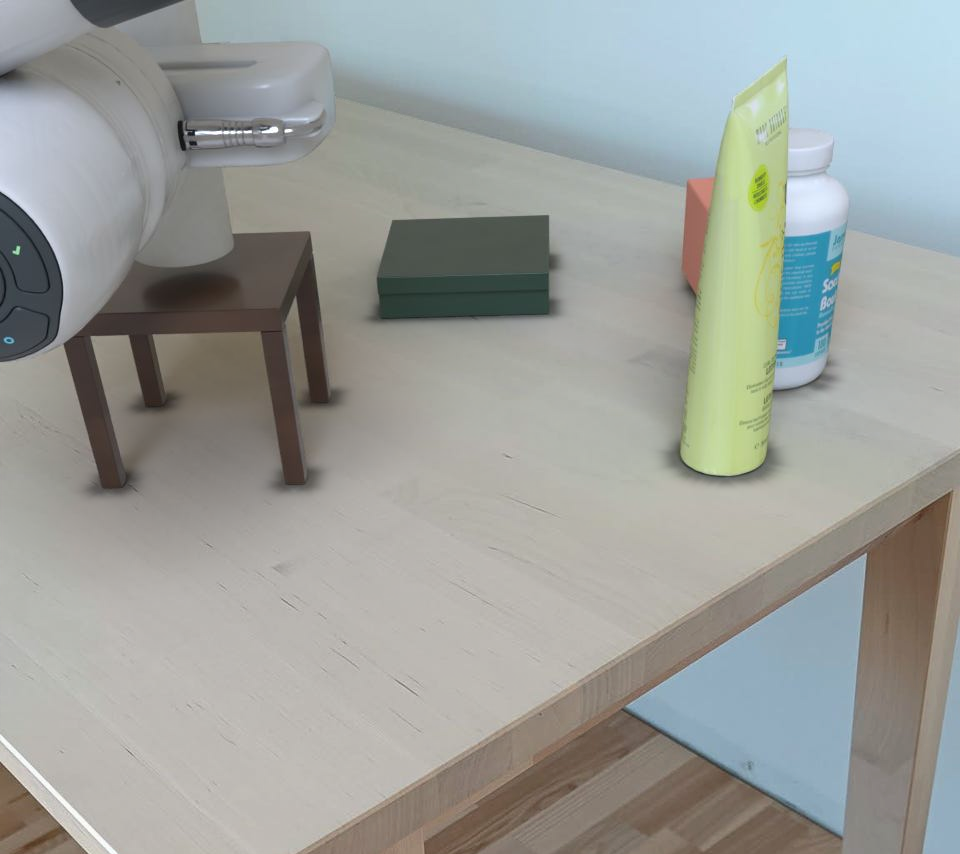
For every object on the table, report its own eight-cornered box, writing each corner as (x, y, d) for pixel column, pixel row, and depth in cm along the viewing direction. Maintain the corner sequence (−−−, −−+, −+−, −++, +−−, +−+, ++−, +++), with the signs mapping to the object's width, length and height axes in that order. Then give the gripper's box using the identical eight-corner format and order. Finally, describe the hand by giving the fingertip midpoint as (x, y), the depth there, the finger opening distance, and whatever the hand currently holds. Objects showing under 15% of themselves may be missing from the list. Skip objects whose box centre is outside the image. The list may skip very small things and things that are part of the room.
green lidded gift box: (380, 320, 91) (376, 277, 88) (395, 260, 99) (392, 219, 97) (548, 316, 90) (548, 272, 88) (549, 256, 98) (549, 214, 96)
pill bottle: (836, 393, 79) (873, 153, 70) (716, 398, 79) (737, 160, 70) (812, 344, 84) (844, 116, 75) (700, 349, 85) (718, 122, 75)
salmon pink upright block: (710, 337, 86) (720, 206, 80) (674, 273, 95) (682, 151, 89) (823, 328, 86) (842, 197, 81) (778, 265, 95) (792, 143, 89)
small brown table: (101, 488, 74) (54, 315, 67) (149, 398, 83) (111, 236, 76) (305, 484, 73) (278, 308, 67) (331, 394, 82) (310, 230, 75)
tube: (784, 476, 72) (837, 81, 58) (699, 489, 71) (732, 93, 57) (746, 432, 76) (787, 54, 62) (665, 445, 75) (689, 65, 61)
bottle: (121, 269, 69) (39, -98, 58) (145, 233, 73) (73, -116, 62) (223, 267, 68) (161, -103, 57) (242, 231, 72) (187, -120, 61)
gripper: (308, 49, 52) (347, -18, 62) (-174, 65, 53) (-60, -4, 63) (326, 213, 57) (360, 126, 67) (-120, 224, 58) (-21, 137, 68)
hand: (152, 63), depth 65 cm, fingers closed on bottle, 5 cm apart
